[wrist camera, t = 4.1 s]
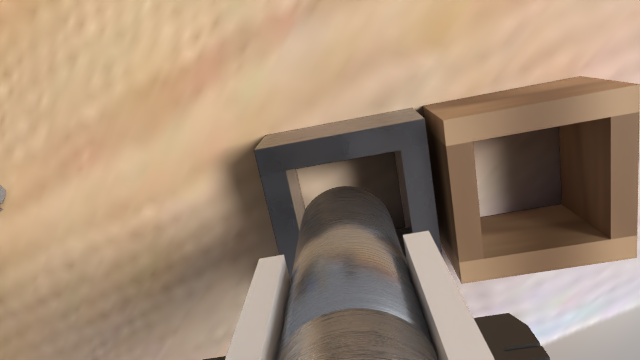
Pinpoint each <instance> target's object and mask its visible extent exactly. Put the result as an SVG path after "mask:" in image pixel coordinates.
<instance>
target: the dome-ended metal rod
mask: <svg viewBox="0 0 640 360" xmlns="http://www.w3.org/2000/svg"><path fill="white" fill-rule="evenodd" d="M277 360H439V359H438V356H437V353H436V350H435V347H434V344H433V341H432V338H431V335H430V332H429V329H428V326H427V323H426V320H425V317H424V314H423V311H422V308H421V305H420V302H419V300H418V297H417V294H416V291H415V288H414V285H413V282H412V279H411V276H410V273H409V270H408V267H407V264H406V261H405V258H404V255H403V252H402V249H401V246H400V243H399V240H398V237H397V234H396V231H395V228H394V225H393V222H392V219H391V216H390V214H389V211H388V209H387V208H386V206H385V205H384V203H383V202H382V201H381V200H380V199H379V198H378V197H377V196H375V195H374V194H372V193H371V192H369V191H367V190H364V189H361V188H358V187H351V186H343V187H336V188H332V189H329V190H327V191H325V192H323V193H321V194H320V195H318V196H317V197H316V198H315V199H313V200H312V201H311V203H310V204H309V205H308V207H307V208H306V210H305V212H304V214H303V217H302V221H301V226H300V232H299V237H298V243H297V249H296V255H295V260H294V266H293V272H292V277H291V283H290V289H289V294H288V300H287V306H286V311H285V317H284V323H283V328H282V334H281V340H280V346H279V351H278V357H277Z"/></svg>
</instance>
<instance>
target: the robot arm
mask: <svg viewBox="0 0 640 360" xmlns="http://www.w3.org/2000/svg"><path fill="white" fill-rule="evenodd" d="M403 239H404V246H405V253H406V259H407V266H408V270H409V273H410V276H411V279H412V282H413V285H414V288H415V291H416V294H417V297H418V300H419V302H420V305H421V308H422V311H423V314H424V317H425V320H426V323H427V326H428V329H429V332H430V335H431V338H432V341H433V344H434V347H435V350H436V353H437V356H438V359H439V360H550V357H549V356H548V354H547V353H546V351H545V350H544V348H543V347H542V346H540V343H539V341H538V340H537V338H536V337H535V335H534V334H533V333H532V331H531V330H530V328H529V327H528V326H527V325H526V324H524V323H523V322H521V321H520V320H518V319H517V318H515V317H514V316H512V315H511V314H509V313H506V314H499V315H492V316H485V317H478V318H473V316H472V314H471V312H470V310H469V308H468V306H467V304H466V303H465V301H464V299H463V297H462V295H461V293H460V291H459V289H458V287H457V285H456V283H455V281H454V279H453V277H452V275H451V273H450V271H449V269H448V267H447V265H446V264H445V262H444V260H443V258H442V256H441V254H440V252H439V250H438V248H437V246H436V244H435V242H434V240H433V238H432V236H431V234H430V232H429V231H424V232H417V233H411V234H405V235H403ZM290 283H291V282H290V278H289V274H288V270H287V265H286V261H285V257H284V255H278V256H272V257H266V258H260V259H259V261H258V264H257V267H256V270H255V273H254V276H253V279H252V282H251V285H250V288H249V291H248V294H247V297H246V299H245V302H244V305H243V308H242V311H241V314H240V317H239V320H238V323H237V326H236V329H235V332H234V335H233V338H232V341H231V343H230V346H229V349H228V352H227V355H226V356H224V357H217V358H210V359H203V360H277V357H278V351H279V346H280V340H281V334H282V328H283V323H284V317H285V311H286V306H287V300H288V294H289V289H290Z"/></svg>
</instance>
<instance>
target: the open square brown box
mask: <svg viewBox="0 0 640 360" xmlns="http://www.w3.org/2000/svg"><path fill="white" fill-rule="evenodd" d="M423 109H424V117H425V125H426V133H427V141H428V149H429V157H430V165H431V173H432V181H433V189H434V197H435V205H436V213H437V221H438V229H439V237H440V243H441V245H442V247H443V249H444V250H445V252H446V254H447V256H448V258H449V260H450V262H451V264H452V266H453V268H454V270H455V272H456V274H457V276H458V278H459V279H460V281H461V283H462V284H463V283H470V282H476V281H483V280H490V279H497V278H503V277H510V276H517V275H524V274H530V273H537V272H544V271H551V270H557V269H564V268H571V267H577V266H584V265H591V264H598V263H604V262H611V261H618V260H625V259H631V258H637V215H638V162H639V110H640V84H634V83H626V82H619V81H612V80H604V79H597V78H589V77H582V76H579V77H574V78H569V79H563V80H558V81H553V82H547V83H542V84H537V85H531V86H526V87H521V88H515V89H510V90H505V91H499V92H494V93H489V94H483V95H478V96H473V97H467V98H462V99H457V100H451V101H446V102H441V103H435V104H430V105H425V106H423ZM557 126H559V141H560V169H561V198H562V204H560V205H554V206H547V207H541V208H535V209H529V210H523V211H517V212H510V213H504V214H498V215H492V216H486V217H480V212H479V202H478V191H477V180H476V170H475V159H474V149H473V141H478V140H484V139H489V138H495V137H501V136H506V135H512V134H518V133H523V132H529V131H534V130H540V129H546V128H551V127H557Z"/></svg>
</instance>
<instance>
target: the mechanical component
mask: <svg viewBox="0 0 640 360" xmlns="http://www.w3.org/2000/svg"><path fill="white" fill-rule="evenodd" d="M4 197H5V189H4V188H3V187H2V186H0V203H1V204H2V202H3V200H4ZM1 210H3V209H1V208H0V211H1Z"/></svg>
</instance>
